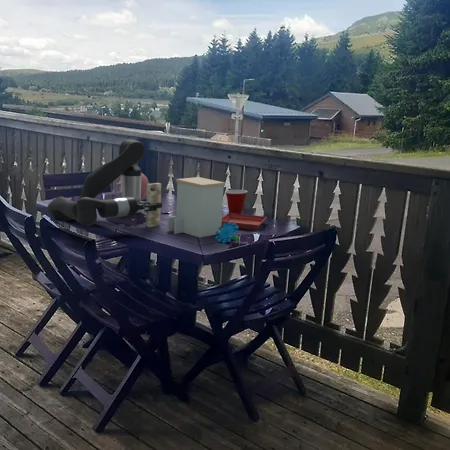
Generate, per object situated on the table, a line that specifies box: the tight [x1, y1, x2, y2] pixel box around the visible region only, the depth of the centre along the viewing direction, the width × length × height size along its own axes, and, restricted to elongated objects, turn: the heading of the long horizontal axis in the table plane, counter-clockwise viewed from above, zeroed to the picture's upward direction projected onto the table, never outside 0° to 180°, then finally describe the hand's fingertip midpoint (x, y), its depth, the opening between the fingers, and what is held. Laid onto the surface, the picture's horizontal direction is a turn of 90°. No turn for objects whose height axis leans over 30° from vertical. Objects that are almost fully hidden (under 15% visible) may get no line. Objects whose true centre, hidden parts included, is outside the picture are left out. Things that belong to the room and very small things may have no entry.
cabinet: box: [167, 176, 226, 238], centre depth 216 cm, size 17×15×21 cm
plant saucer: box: [221, 212, 267, 231], centre depth 237 cm, size 18×18×3 cm
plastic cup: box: [224, 189, 248, 214], centre depth 254 cm, size 11×11×12 cm
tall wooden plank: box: [145, 182, 162, 228], centre depth 223 cm, size 6×3×18 cm, turn 136°
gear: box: [215, 222, 241, 244], centre depth 208 cm, size 11×6×10 cm
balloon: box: [115, 172, 150, 199], centre depth 272 cm, size 15×20×15 cm
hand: (155, 203), depth 223 cm, fingers open, 8 cm apart
